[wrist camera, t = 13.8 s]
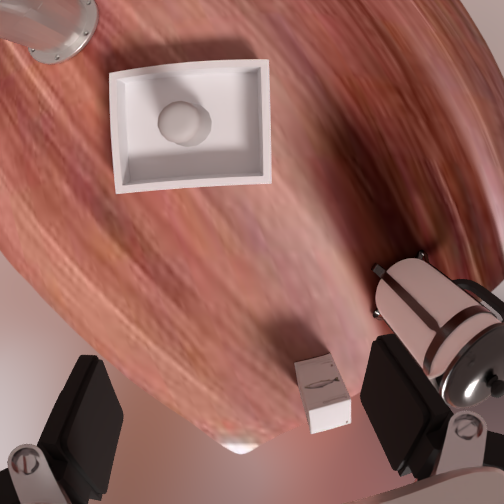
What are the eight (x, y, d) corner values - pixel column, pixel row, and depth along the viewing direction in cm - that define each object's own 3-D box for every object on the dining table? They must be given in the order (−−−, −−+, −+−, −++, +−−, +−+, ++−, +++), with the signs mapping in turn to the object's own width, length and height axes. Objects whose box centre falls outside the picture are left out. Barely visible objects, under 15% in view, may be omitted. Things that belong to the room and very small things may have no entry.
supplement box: (331, 351, 57) (353, 398, 45) (332, 378, 60) (352, 424, 48) (292, 361, 57) (308, 410, 45) (297, 387, 60) (311, 435, 48)
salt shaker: (221, 124, 40) (221, 120, 28) (191, 154, 42) (179, 163, 29) (190, 95, 39) (177, 80, 27) (160, 126, 40) (136, 124, 28)
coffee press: (396, 333, 57) (477, 444, 29) (345, 295, 53) (434, 429, 25) (453, 266, 53) (560, 351, 25) (410, 216, 49) (546, 300, 21)
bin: (120, 78, 37) (109, 73, 33) (263, 67, 39) (268, 59, 34) (126, 187, 43) (116, 194, 38) (266, 178, 45) (271, 183, 40)
